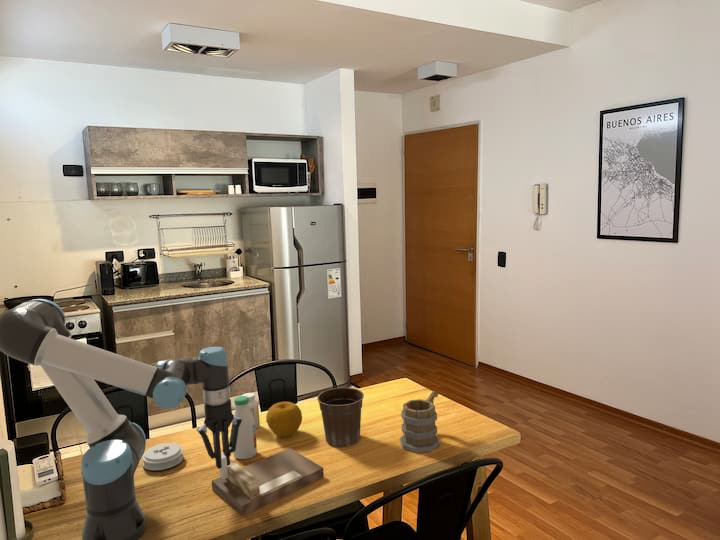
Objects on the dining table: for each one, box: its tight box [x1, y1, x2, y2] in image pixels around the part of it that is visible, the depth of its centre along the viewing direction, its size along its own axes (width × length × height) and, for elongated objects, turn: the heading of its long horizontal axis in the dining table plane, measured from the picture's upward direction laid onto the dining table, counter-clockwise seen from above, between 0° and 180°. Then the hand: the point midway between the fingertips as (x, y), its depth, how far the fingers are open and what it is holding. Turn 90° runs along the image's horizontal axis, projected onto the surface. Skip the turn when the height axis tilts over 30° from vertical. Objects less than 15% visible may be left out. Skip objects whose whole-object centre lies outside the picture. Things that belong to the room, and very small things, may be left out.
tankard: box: [399, 390, 441, 454], centre depth 184 cm, size 20×13×15 cm, turn 143°
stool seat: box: [211, 447, 325, 517], centre depth 161 cm, size 28×18×3 cm, turn 132°
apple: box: [265, 401, 303, 439], centre depth 192 cm, size 13×13×11 cm
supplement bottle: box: [241, 392, 261, 430], centre depth 199 cm, size 7×7×13 cm
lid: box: [141, 442, 184, 471], centre depth 175 cm, size 13×13×5 cm
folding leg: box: [227, 458, 260, 497], centre depth 155 cm, size 17×3×4 cm, turn 42°
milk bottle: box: [231, 395, 258, 460], centre depth 178 cm, size 8×8×20 cm
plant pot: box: [317, 387, 365, 448], centre depth 186 cm, size 16×16×16 cm
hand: (224, 476), depth 157 cm, fingers closed
